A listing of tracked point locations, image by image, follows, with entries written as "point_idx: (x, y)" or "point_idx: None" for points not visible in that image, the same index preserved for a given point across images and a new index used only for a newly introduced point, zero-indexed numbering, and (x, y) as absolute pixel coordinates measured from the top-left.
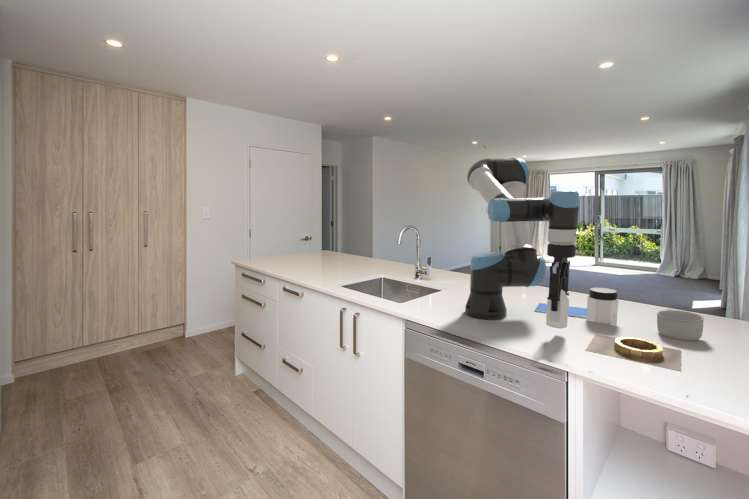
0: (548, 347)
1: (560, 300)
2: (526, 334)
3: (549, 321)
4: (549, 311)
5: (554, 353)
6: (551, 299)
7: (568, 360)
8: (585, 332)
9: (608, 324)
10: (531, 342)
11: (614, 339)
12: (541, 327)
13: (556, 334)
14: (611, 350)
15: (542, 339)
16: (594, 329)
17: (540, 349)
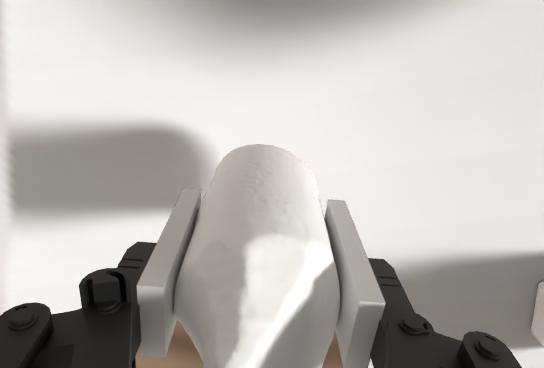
0: (122, 156)
1: (162, 354)
2: (248, 16)
3: (213, 179)
4: (203, 208)
5: (66, 189)
6: (52, 318)
7: (33, 243)
8: (430, 260)
9: (540, 337)
10: (134, 71)
11: (325, 364)
12: (424, 69)
13: (336, 158)
14: (189, 362)
15: (217, 112)
16: (492, 284)
17: (68, 130)
